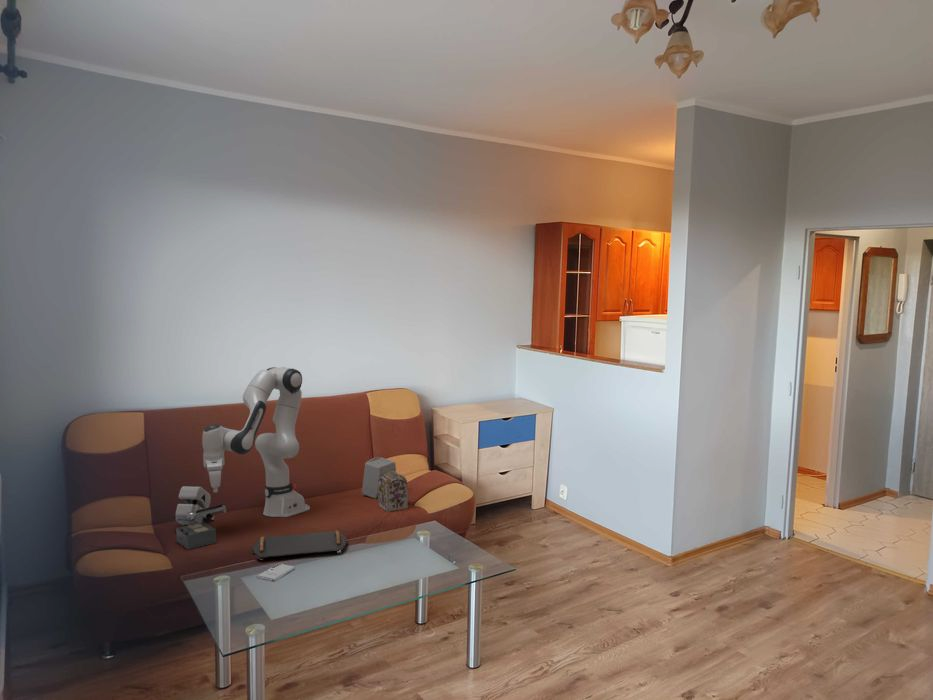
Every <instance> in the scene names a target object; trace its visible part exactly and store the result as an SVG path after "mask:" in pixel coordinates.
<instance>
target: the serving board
mask: <svg viewBox="0 0 933 700" xmlns="http://www.w3.org/2000/svg"><path fill="white" fill-rule="evenodd" d="M343 541H345V542H343ZM347 543H348V539H347V537H346V536H345V534H343V533H342V532H340V531H339V530H337V529H336V530H332V531H317V532H310V533H308V532H307V533H296V534H294V533H293V534H283V535H276V536H275V535H271V536H261V537H260V538H259V539H258V540H257V541H255V542H254V544H253V545H252V553H253V555H255V556H256V557H257V558H258V561H259V560H260V559H264V560H265V558H270V557H272V558H274V557H283V556H294V555H295V556H296V555H302V554H303V555H305V554H317V553H326V552H336V551H339V550H341V551H342V550H344V549H345V547H346V546H347ZM302 550H303V551H302ZM297 551H301V552H297Z"/></svg>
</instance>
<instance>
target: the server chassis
mask: <svg viewBox="0 0 933 700" xmlns="http://www.w3.org/2000/svg"><path fill="white" fill-rule="evenodd" d="M216 530H217V529H216V528H214V526H211V525H209V524H208V523H207V522H206V521H202V522H201V523H197V524H195V519H191V520H189V525H188V526H183V525H182V526H178V527H176V528H175V531H176V532H175V533H176V534H175V535H176V542H177V544H179V545H181V546H182V547H183V546H184V547H183V548H185V549H186V550H187V551H189V550H193V549H197V548H201V547H205V546H204V545H206V546H210V545H213V543H214V544H216V543H217V533H216V532H217V531H216ZM209 544H210V545H209ZM200 546H201V547H200Z"/></svg>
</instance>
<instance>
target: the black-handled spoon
mask: <svg viewBox="0 0 933 700" xmlns="http://www.w3.org/2000/svg"><path fill="white" fill-rule="evenodd" d="M216 512H222V513H224V514H225V513H227V507H226V505H223V504H217V505H214V506H209V508H205V509H201V510H197V511H196V512H195V511H191V512H188V513H187V519H189V520H191V519H195V518H196V517H197V516H201V515H205V514H209V513H210V514H212V513H216Z"/></svg>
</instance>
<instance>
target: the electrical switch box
mask: <svg viewBox="0 0 933 700" xmlns="http://www.w3.org/2000/svg"><path fill="white" fill-rule="evenodd" d="M389 472H397V467H396V462H395V461H394V460H390V459H387V458H385V457H383V456H382V457H381V456H380V457H373V458H371V459H369V460H368V461H366V462H365V464H364V472H363V478H362V479H363V481H362V486H361V487H362V489H361V494H362V495H364V496H367V497H369V498H372V499H375V500H376V499H378V480H379V479H380V478H381V477H382V476H384V475H387V474H388V473H389Z"/></svg>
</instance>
